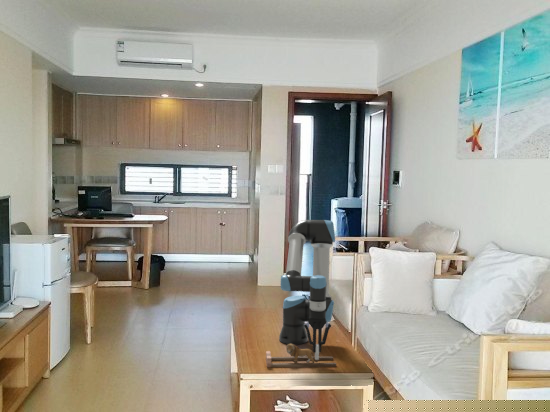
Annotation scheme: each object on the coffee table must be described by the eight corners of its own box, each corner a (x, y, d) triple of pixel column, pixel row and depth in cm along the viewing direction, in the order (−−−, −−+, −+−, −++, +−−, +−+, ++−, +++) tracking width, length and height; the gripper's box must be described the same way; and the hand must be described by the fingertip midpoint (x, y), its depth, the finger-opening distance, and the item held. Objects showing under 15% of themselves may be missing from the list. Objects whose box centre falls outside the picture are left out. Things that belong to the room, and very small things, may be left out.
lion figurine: (286, 364, 247) (286, 345, 246) (286, 360, 252) (286, 341, 252) (318, 365, 247) (318, 345, 246) (317, 360, 252) (317, 342, 252)
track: (265, 359, 253) (265, 351, 253) (332, 358, 255) (332, 350, 255) (266, 367, 243) (266, 358, 243) (336, 366, 245) (336, 357, 245)
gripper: (304, 311, 244) (304, 361, 246) (332, 311, 245) (331, 361, 247) (302, 307, 252) (302, 356, 253) (330, 307, 253) (329, 356, 254)
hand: (316, 358), depth 250 cm, fingers closed
